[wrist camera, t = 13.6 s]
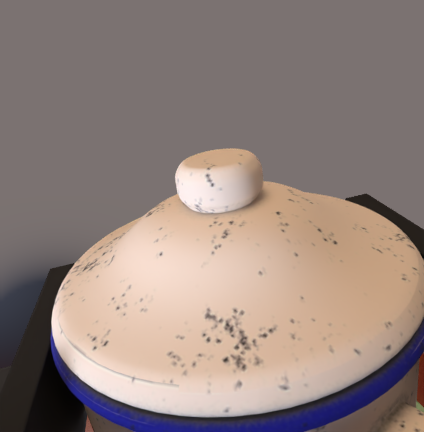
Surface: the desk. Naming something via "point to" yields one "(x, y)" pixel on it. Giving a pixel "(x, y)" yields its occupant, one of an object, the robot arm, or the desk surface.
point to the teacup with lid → (245, 312)
